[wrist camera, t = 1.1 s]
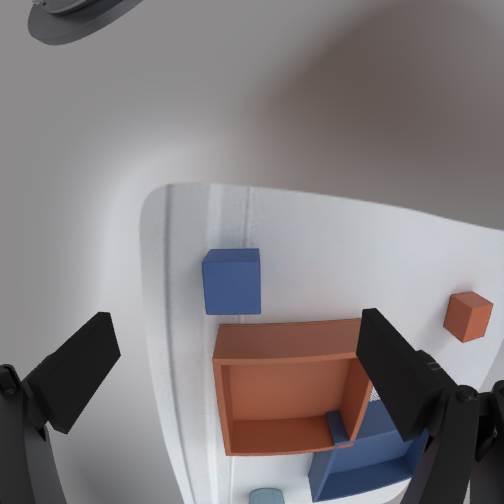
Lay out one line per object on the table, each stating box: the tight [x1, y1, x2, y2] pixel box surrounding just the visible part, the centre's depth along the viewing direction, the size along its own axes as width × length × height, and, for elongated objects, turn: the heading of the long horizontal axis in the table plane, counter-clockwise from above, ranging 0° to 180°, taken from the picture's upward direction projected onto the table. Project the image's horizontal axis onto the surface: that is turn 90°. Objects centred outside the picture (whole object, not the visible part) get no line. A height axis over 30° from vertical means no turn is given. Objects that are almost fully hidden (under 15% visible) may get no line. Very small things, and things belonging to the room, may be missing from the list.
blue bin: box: [308, 400, 429, 503], centre depth 26 cm, size 17×17×6 cm
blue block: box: [202, 249, 261, 315], centre depth 21 cm, size 4×4×4 cm
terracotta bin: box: [212, 318, 373, 456], centre depth 23 cm, size 13×13×6 cm
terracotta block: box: [444, 292, 493, 343], centre depth 22 cm, size 4×4×4 cm
